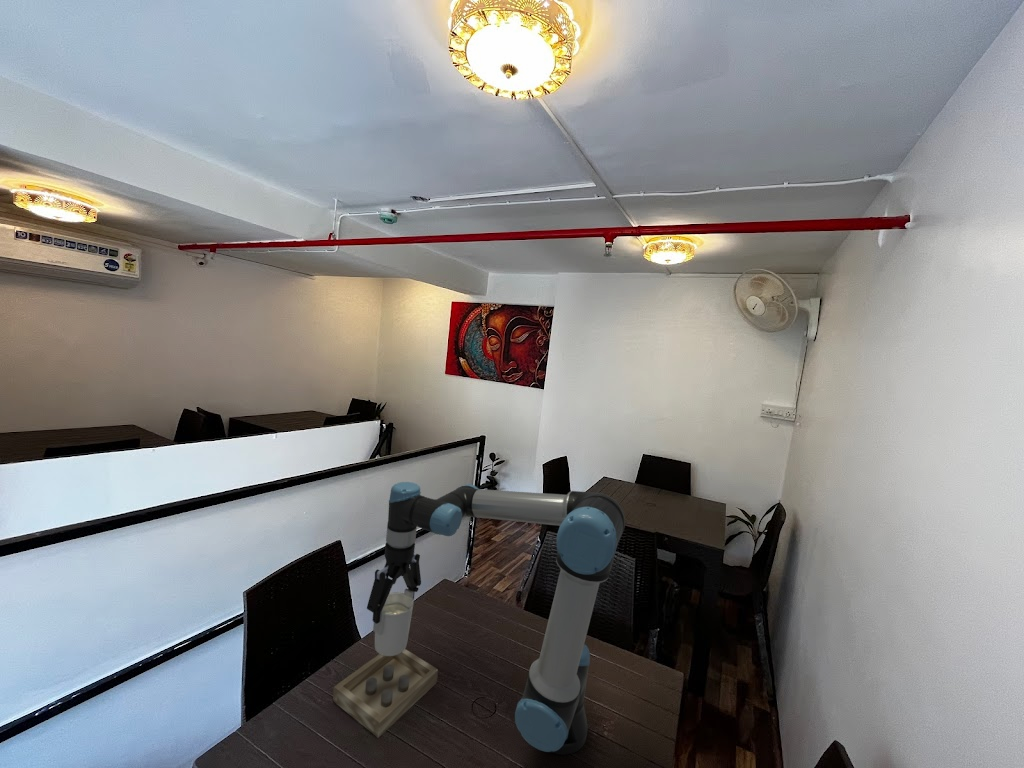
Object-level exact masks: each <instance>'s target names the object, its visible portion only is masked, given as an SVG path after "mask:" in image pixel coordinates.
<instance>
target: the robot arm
mask: <svg viewBox="0 0 1024 768" xmlns="http://www.w3.org/2000/svg"><path fill="white" fill-rule="evenodd" d="M421 493H422V491H421V486H420V485H419V484H417V483H415V482H410V481H401V482H397V483H395V484H393V486H391V489H390V495H389V499H388V513H387V514H388V518H387V525H386V526H387V527H386V537H385V547H384V557H385V564H384V567H383V568H382V569H376V570H375V571H374V580H373V585H372V587H371V591H370V595H369V598H368V603H367V606H366V609H367V610H368V611H369V612H371V613H372V622H373V626H372V628H373V629H372V632H374V633H375V632H376V633H377V634H379V635H382V634H383V625H384V614H385V610H384V609H383V607H384V604H385V602H386V600H387V597H388V595H389V593H391V591H392V588H393V585H395V584H396V583H397V580H398V579H399V578H400V577H402V578H403V581H404V583H405V586H406V587H407V588H405V589H404V592H403V593H404V594H406V595H408V596H410V597H411V598H412V599H413V601H414V600H415V593H417V592H418V591H419V587H420V586H421V585H422V579H421V578H422V577H421V569H420V558H421V555H420V554H419V553H417V552H415V549H416V543H415V542H416V539H417V538H416V537H417V528H420V529H422V530H425V531H428V532H431V533H434V534H435V535H439V536H445V537H451V536H454V535H455V534H456V533H457V530H459V528H460V526H461V524H462V519H463V518H464V517H465V518H466V517H470V518H481V519H490V520H491V519H492V520H502V521H511V522H521V523H530V524H539V525H540V524H541V525H547V526H548V525H549V526H559V528H558V531H557V534H556V549H557V554H556V557H555V561H556V565H557V566H558V568H559V569H560V570H559V575H558V578H557V583H556V588H555V592H554V597H553V599H552V600H553V601H552V604H551V609H550V612H549V617H548V621H547V625H546V628H545V634H544V637H543V641H542V644H541V645H542V646H541V651H540V654H539V658H537V659H536V660H534V661H533V662H532V663H531V666H530V667H529V670H528V674H527V679H526V682H525V688H524V691H523V693H522V696H521V699H519V701H518V702H517V704H516V708H515V713H514V722H515V726H516V728H517V729H518V730H517V731H518V732H519V733H520V735H521V737H522V738H523V739H524V740H525V741H526V743H528V744H529V745H530V746H531V747H533V748H534V749H537V750H539V751H542V752H545V753H552V754H554V755H555V754H556V755H563V756H564V755H565V756H567V755H571V754H574V753H577V752H578V751H579V750H581V749H582V748H583V746H584V745H585V743H586V740H587V734H588V719H587V715H586V710H585V709H586V708H585V705H584V703H585V698H586V697H585V695H586V689H587V688H586V687H587V680H588V674H589V673H588V672H589V667H590V666H589V665H591V660H590V658H591V657H590V656H591V655H590V654H591V652H590V650H589V647H588V646H587V645H586V644H585V641H586V640H587V639H586V638H587V634H588V630H589V626H590V622H591V618H592V614H593V611H594V607H595V603H596V599H597V595H598V591H599V587H600V584H601V583H604V582H607V580H608V579H609V578H610V575H611V570H612V567H613V563H614V559H615V555H616V550H617V548H618V545H619V541H620V540H621V537H622V535H623V533H624V531H625V527H626V518H625V514H624V510H623V509H622V507H621V505H620V504H619V502H618V501H617V500H616V499H614V498H613V497H612V496H610V495H608V494H605V493H602V492H593V491H577V490H571V491H569V492H567V494H562V493H561V494H560V493H547V492H546V493H543V492H528V491H513V490H511V491H510V490H499V489H497V490H496V489H495V490H494V489H481V488H479V487H478V486H476V485H474V484H464V485H461V486H458V487H457V488H456V489H454V490H453V491H450V492H449V493H446V494H444V495H442V496H440V497H439V498H435V499H434V498H432V497H431V498H430V497H426V496H425V495H421Z"/></svg>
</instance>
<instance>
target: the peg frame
mask: <svg viewBox="0 0 1024 768" xmlns="http://www.w3.org/2000/svg"><path fill="white" fill-rule="evenodd" d="M438 675H439V669H438V668H436V667H435V666H433V665H431V664H430V663H429V662H427V661H425V660H423V659H422V658H420V657H419V656H417V655H416V654H415V653H412V652H411V651H409V650H407V649H406V648H405V649H404V651H402V652H401V653H400V654H397V655H394V656H383V655H381V654H379V653H378V654H377V655H376V656H374V657H373V658H372V659H370V660H369V661H367V662H366V663H365V664H363V665H362V666H361V667H359V668H358V669H357V670H355V671H354V672H352V673H350V675H348V676H347V677H345V678H344V679H342V681H340V682H338V683H337V684H336V685H334V686H333V695H332V702H333V703H335V704H336V705H337V706H338V707H339V708H341V709H342V710H343V711H345V713H347V714H348V715H349V716H350V717H352V718H353V719H354V720H355V721H357V723H359V724H360V725H362V727H364V728H365V729H366V730H368V731H369V732H370V733H371V734H372V735H373V736H375V737H376V738H377V739H379V738H380V737H381V736H382V735H383V734H384V733H385V732H387V730H388V729H389V728H391V727H392V726H393V725H394V724H395V723H396V722H397V721H398V720H399V719H400V718H401V717H403V715H404V714H405V713H407V712H408V711H409V710H410V709H411V708H412V707H413V706H414V705H415V704H416V703H417V702H419V701H420V699H422V698H423V697H424V696H425V695H426V694H427V693H428V691H430V690H431V689H432V688H434V687H435V685H437V683H438Z"/></svg>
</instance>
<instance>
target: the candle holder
mask: <svg viewBox="0 0 1024 768" xmlns="http://www.w3.org/2000/svg"><path fill="white" fill-rule="evenodd" d="M414 604H415V602H414V600H413V599H412V598H411V597H410V596H408V595H406V594H404V592H398V591H397V592H390V593H389V595H388V597H387V600H386V602H385V604H384V607H383V609H384V610H385V614H384V625H383V634H382V635H379V634H377V633H376V632H374V650H375V651H376V652H377V654H378V655H379V654H381V655H383V656H394V655H397V654H400V653H401V652H402V651H404V649H406V648H407V646H408V645H407V644H408V639H409V634H410V627H411V621H412V616H413V615H412V614H413V608H414Z"/></svg>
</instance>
